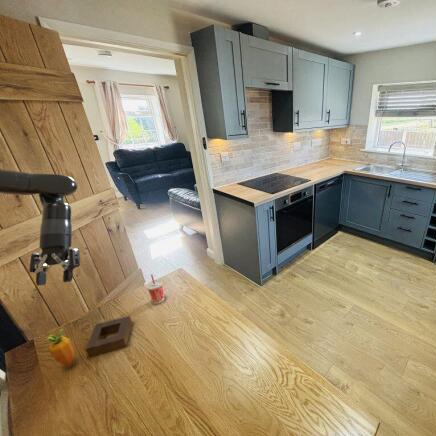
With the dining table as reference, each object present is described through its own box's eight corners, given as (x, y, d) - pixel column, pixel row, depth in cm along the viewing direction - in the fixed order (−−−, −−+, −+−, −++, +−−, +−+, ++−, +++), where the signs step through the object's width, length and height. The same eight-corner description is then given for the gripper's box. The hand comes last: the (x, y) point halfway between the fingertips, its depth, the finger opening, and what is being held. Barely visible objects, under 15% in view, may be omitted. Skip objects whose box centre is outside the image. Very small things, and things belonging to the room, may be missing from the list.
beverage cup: (151, 306, 102) (143, 281, 97) (150, 297, 107) (143, 272, 102) (166, 302, 105) (159, 276, 99) (165, 293, 110) (159, 268, 104)
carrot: (78, 355, 82) (62, 324, 76) (82, 364, 79) (65, 332, 73) (59, 366, 78) (40, 334, 72) (62, 376, 75) (43, 343, 69)
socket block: (89, 357, 81) (85, 349, 80) (99, 331, 91) (95, 324, 89) (126, 346, 85) (123, 338, 84) (132, 323, 94) (129, 315, 93)
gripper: (22, 235, 75) (19, 287, 73) (66, 230, 75) (65, 281, 73) (46, 237, 83) (44, 285, 80) (87, 232, 83) (86, 279, 80)
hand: (54, 283), depth 76 cm, fingers open, 8 cm apart
